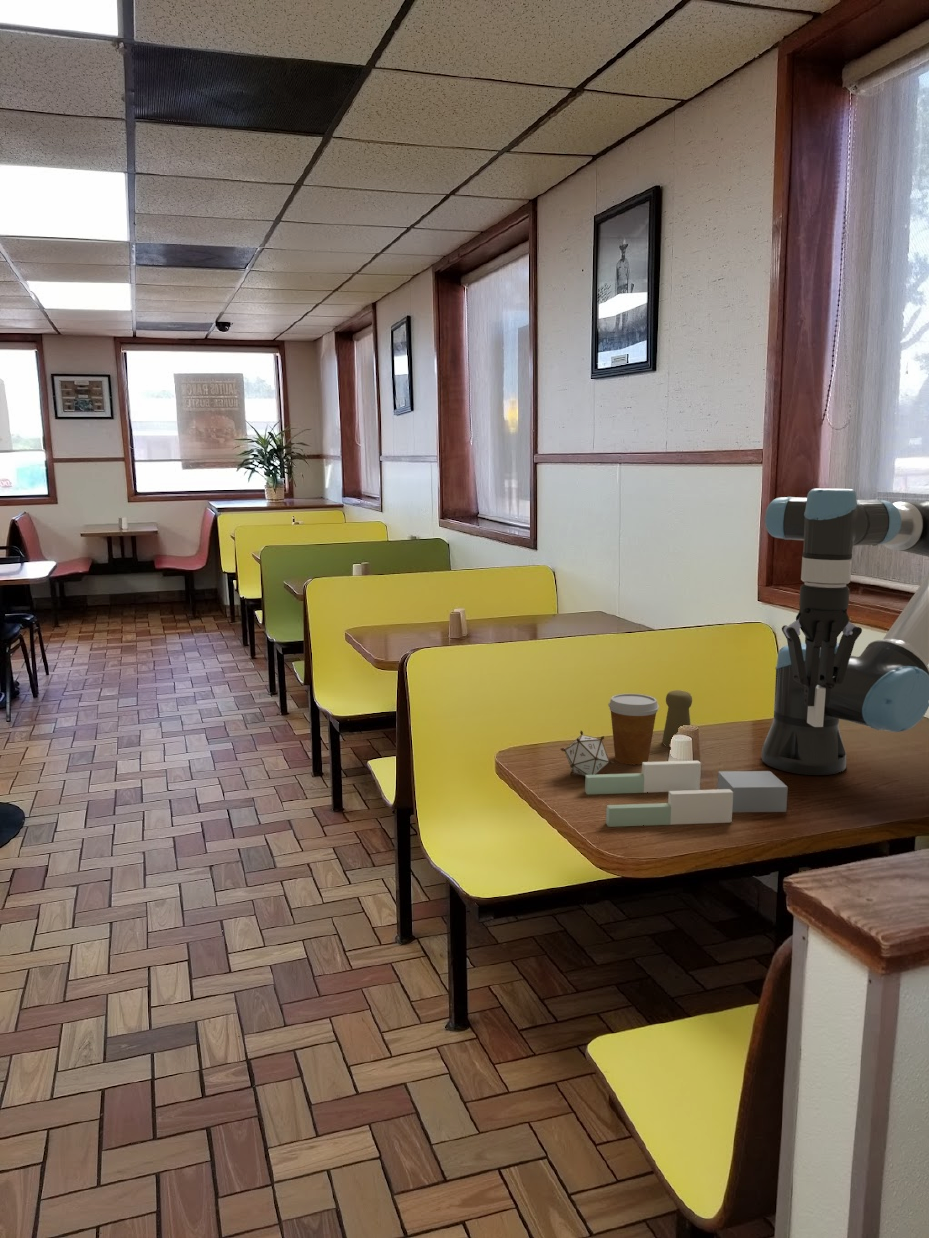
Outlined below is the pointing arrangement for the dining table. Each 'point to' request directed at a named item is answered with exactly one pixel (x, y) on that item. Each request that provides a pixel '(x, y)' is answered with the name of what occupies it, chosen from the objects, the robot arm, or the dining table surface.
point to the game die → (586, 755)
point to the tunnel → (663, 777)
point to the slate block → (754, 791)
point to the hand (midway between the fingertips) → (814, 724)
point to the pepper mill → (676, 713)
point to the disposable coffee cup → (632, 726)
